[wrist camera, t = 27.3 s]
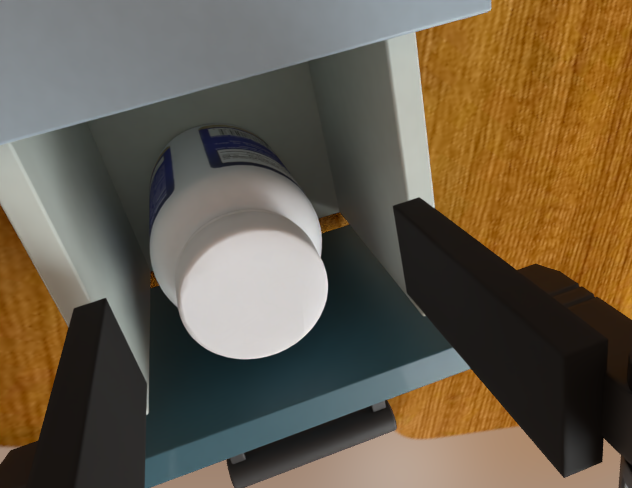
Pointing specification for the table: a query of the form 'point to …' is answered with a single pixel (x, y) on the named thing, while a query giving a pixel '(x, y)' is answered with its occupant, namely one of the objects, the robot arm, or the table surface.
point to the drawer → (337, 255)
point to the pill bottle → (235, 242)
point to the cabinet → (175, 48)
